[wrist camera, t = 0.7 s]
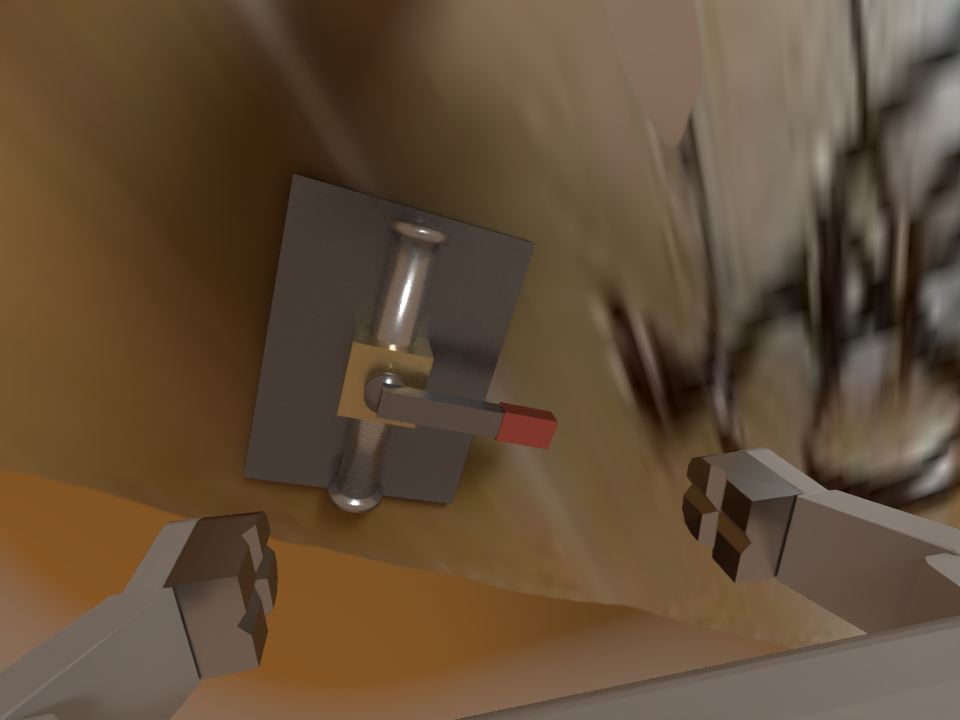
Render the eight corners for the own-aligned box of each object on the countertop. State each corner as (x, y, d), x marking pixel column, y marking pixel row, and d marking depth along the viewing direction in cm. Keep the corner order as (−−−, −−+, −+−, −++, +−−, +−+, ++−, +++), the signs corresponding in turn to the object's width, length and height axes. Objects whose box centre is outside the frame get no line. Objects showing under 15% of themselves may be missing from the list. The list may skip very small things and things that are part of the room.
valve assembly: (295, 173, 43) (280, 174, 36) (530, 241, 49) (554, 253, 42) (247, 469, 52) (227, 513, 45) (449, 495, 58) (459, 538, 51)
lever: (360, 403, 43) (358, 421, 40) (368, 365, 42) (368, 382, 39) (535, 433, 48) (546, 453, 45) (547, 400, 47) (559, 418, 44)
